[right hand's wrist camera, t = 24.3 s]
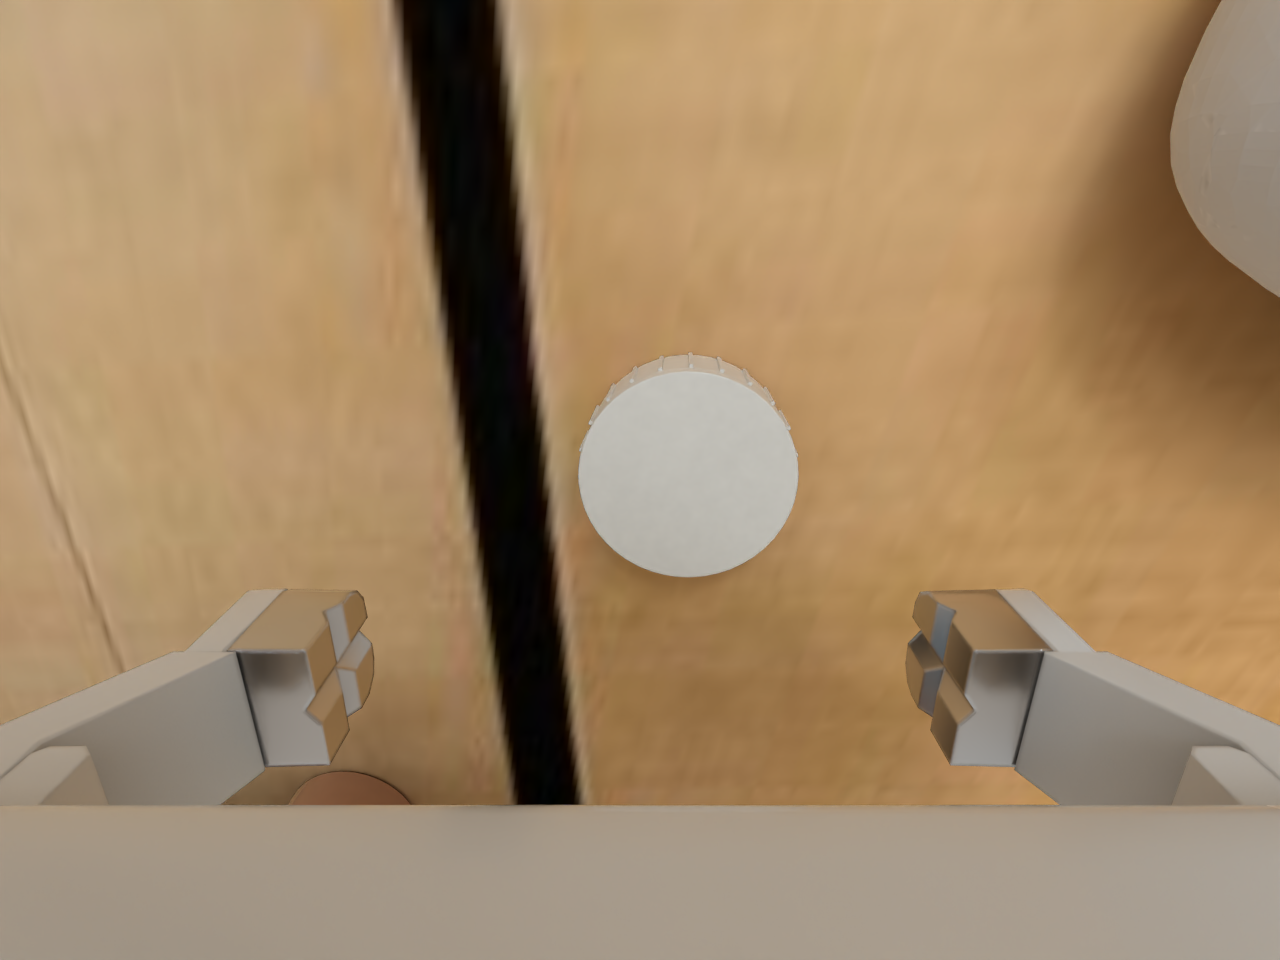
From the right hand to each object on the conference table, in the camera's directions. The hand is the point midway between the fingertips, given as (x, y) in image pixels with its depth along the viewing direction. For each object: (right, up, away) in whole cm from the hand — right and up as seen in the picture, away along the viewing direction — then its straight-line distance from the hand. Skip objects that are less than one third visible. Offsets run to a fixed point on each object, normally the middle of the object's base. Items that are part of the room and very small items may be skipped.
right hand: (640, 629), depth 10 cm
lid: (+1, +2, +8) cm, 8 cm away
